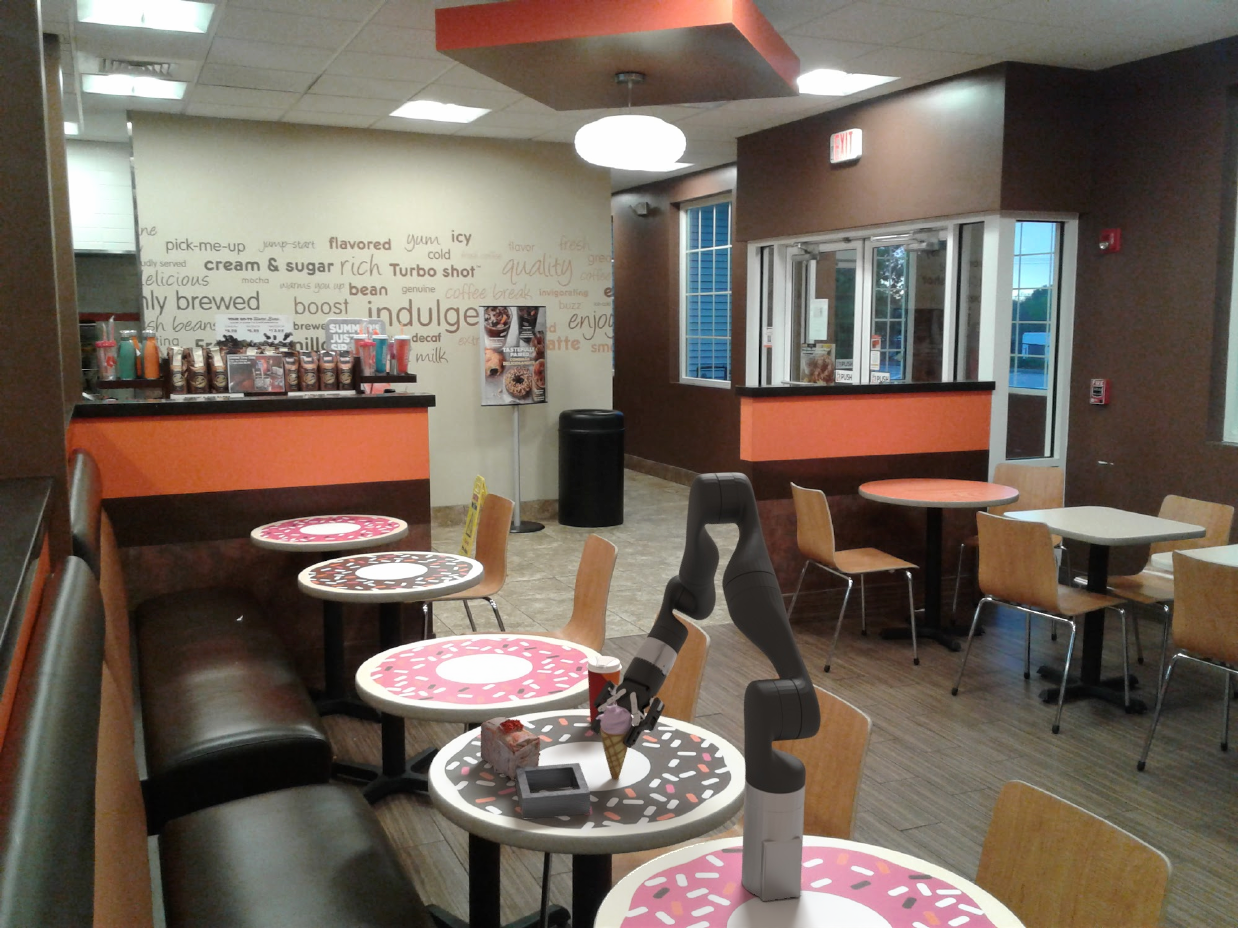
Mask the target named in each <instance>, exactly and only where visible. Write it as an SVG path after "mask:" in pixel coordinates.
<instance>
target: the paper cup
mask: <svg viewBox="0 0 1238 928" xmlns="http://www.w3.org/2000/svg"><path fill="white" fill-rule="evenodd" d="M622 667H623V666H622V664H621V661H620V660H619V658H617V657H614V656H608V655H600V656H599V655H598V656H593V657H591V658H590V659H589V660H588V662H587V664H586V666H585V668H586V670H587V680H588V698H589V699H588V700H589V701H588V702H589V703H588V704H589V720H590V724H591V723H592V722H593V720H594V718H595V716H596V715H597V713H598V710H597V709H596V708H595V707H594V706H593V703H594V701H595V699H596V698H597V696H598V695H599V693H600V692H601V690H602V689H603V687H604V686H605V684H606V682H607V681H609V680H611V681H612V682H613V683H614V684H615V685H618V686H619V685H620V677H621V676H620V675H621V669H622ZM613 696H614V695H613ZM602 701H603V700H602ZM602 701H601V702H602ZM600 704H601V703H600ZM614 704H615V705H617V704H616V702H615V703H614Z"/></svg>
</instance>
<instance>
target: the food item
mask: <svg viewBox="0 0 1238 928" xmlns="http://www.w3.org/2000/svg"><path fill="white" fill-rule="evenodd" d="M524 727H525V726H524V724H522V722H521V719H511V718H508V717H505V716H504V717H502V716H501V717H500V716H499V717H494V718H491V719H488V720H486V721H483V722H482V723H481V725H480V759H481V760H482V761H485V762H487V763H488V764H490V765H492V768H493V771H494V773H497V774H502V775H504V776H505V777H509V778H510V779H511V780H513V781H514V780H516V768H521V767H533V766H540V765H539V762H540V756H541V753H540V751H541V740H540V739H541V738H540V737H539V736H536V734H534V733H532V732H530V731H528V730H526V729H525V728H524Z"/></svg>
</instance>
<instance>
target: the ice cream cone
mask: <svg viewBox="0 0 1238 928" xmlns="http://www.w3.org/2000/svg"><path fill="white" fill-rule="evenodd" d="M606 709H607V710H606V711H604V714H602V715H599V716H598V717H597V718H596V719H600V720H601V723H600V725H601V727H600V736H601V742H602V743H601V744H602V747H603V751H604V752H603V753H604V756H605V760H606V762H607V767H608V769H609V773H610V777H611V780H614V781H615V780H619V778H620V776H621V772H622V769H623V766H624V763H625V759H626V756H627V752H628V747H626V746H625V745H624V744H623V740H624V738H625V736H626V735H627V733H628V731H629V729H630V727H631V726H632V725H633V723H632V722H633V715H631V714H630V713H629V712H628V710H626V709H625V708H622V707H619V706H607V707H606Z"/></svg>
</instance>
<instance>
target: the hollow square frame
mask: <svg viewBox="0 0 1238 928" xmlns="http://www.w3.org/2000/svg"><path fill="white" fill-rule="evenodd" d="M565 788H572V789H568V790H556V791H554V789H565ZM552 789H553V791H544V792H534V793H533V792H531V791H541V790H552ZM515 790H516V795H517V800H518V804H519V809H520V813H522V814H521V817H523V818H535V819H543V818H544V819H545V818H553V817H554V816H557V817H566V816H577V815H587V814H589V815H590V814H591V791H590V789H589V786H588V783H587V780H586V778H585V775H584V773H583V770H582V767H581V763H580V762H573V763H561V764H560V763H559V764H548V765H538V766H533V767H521V768H516V779H515ZM523 818H522V819H523Z"/></svg>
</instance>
